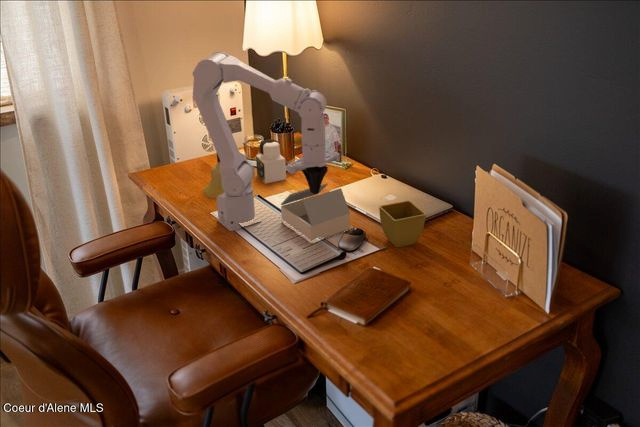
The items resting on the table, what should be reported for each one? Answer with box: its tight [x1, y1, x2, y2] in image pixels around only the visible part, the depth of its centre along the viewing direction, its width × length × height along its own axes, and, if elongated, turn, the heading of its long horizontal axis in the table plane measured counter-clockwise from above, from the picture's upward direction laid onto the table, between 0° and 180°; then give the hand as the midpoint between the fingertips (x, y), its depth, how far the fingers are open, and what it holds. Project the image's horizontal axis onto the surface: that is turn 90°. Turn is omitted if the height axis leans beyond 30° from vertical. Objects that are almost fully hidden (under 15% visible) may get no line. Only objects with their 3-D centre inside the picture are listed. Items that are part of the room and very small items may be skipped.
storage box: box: [280, 194, 351, 241], centre depth 155 cm, size 12×14×5 cm
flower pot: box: [378, 200, 427, 248], centre depth 146 cm, size 9×9×9 cm
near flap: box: [301, 188, 351, 226], centre depth 148 cm, size 12×7×1 cm
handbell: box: [202, 153, 225, 199], centre depth 172 cm, size 12×12×25 cm
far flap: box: [280, 182, 329, 206], centre depth 156 cm, size 12×7×1 cm
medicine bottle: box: [255, 139, 287, 185], centre depth 182 cm, size 7×7×12 cm
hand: (314, 192), depth 151 cm, fingers closed
